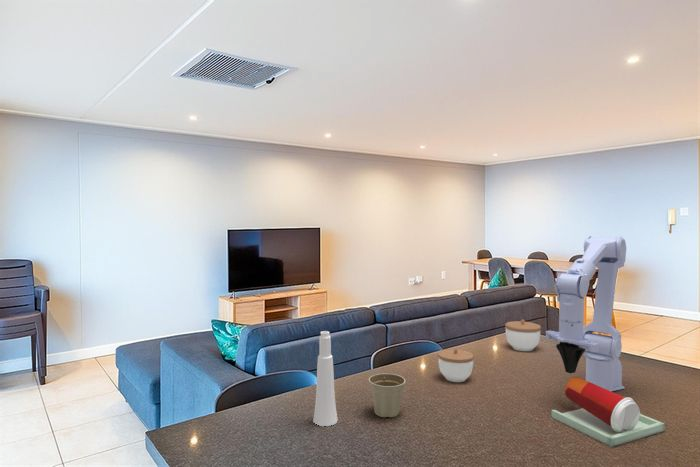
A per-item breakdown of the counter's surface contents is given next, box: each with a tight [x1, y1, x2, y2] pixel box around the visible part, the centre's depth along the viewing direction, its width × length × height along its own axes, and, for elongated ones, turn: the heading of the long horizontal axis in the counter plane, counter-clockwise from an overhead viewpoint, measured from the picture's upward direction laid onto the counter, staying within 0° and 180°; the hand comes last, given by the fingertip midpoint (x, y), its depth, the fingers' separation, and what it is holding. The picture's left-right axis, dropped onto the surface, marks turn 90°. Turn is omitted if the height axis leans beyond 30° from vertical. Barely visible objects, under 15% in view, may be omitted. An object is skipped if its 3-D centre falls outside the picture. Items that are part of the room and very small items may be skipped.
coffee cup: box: [564, 376, 641, 432], centre depth 108 cm, size 8×8×15 cm
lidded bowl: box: [504, 319, 542, 352], centre depth 171 cm, size 13×13×11 cm
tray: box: [551, 407, 666, 448], centre depth 108 cm, size 18×16×2 cm
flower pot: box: [368, 373, 406, 418], centre depth 115 cm, size 9×9×9 cm
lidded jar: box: [437, 348, 475, 383], centre depth 139 cm, size 11×11×9 cm
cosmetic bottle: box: [312, 330, 339, 427], centre depth 110 cm, size 6×6×22 cm
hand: (570, 372), depth 117 cm, fingers closed
